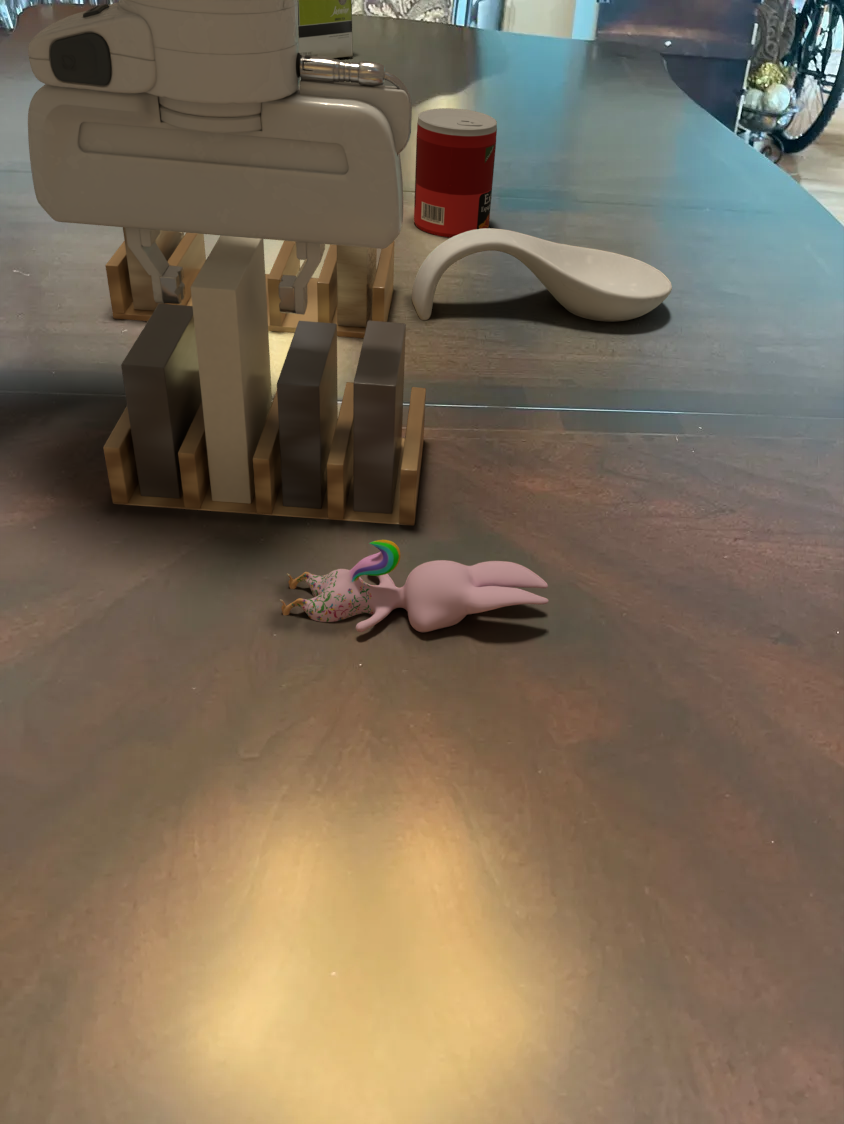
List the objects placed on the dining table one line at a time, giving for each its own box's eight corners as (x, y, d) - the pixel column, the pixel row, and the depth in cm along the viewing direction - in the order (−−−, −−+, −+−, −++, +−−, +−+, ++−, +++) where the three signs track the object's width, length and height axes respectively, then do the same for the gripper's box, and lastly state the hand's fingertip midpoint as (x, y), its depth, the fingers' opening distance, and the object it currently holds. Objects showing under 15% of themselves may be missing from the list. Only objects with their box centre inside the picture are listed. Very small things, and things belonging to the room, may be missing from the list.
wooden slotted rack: (114, 324, 88) (84, 131, 78) (147, 274, 96) (124, 95, 86) (383, 345, 89) (387, 157, 79) (393, 294, 97) (397, 119, 87)
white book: (211, 501, 67) (190, 286, 58) (238, 432, 74) (222, 230, 65) (251, 504, 67) (235, 290, 58) (273, 434, 74) (263, 233, 65)
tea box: (316, 45, 174) (314, -62, 164) (354, 58, 168) (354, -51, 159) (238, 52, 165) (231, -59, 156) (275, 67, 160) (270, -48, 151)
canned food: (494, 244, 109) (504, 130, 102) (417, 242, 108) (422, 127, 101) (482, 218, 115) (490, 109, 108) (409, 216, 114) (413, 106, 107)
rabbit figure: (284, 665, 59) (551, 651, 58) (261, 580, 55) (546, 564, 54) (301, 597, 64) (547, 584, 63) (281, 515, 60) (543, 499, 59)
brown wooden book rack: (114, 516, 67) (89, 370, 60) (157, 431, 75) (139, 295, 69) (413, 537, 67) (420, 395, 61) (422, 451, 76) (429, 318, 69)
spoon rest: (639, 285, 104) (652, 211, 99) (684, 336, 95) (701, 257, 90) (402, 290, 98) (405, 211, 93) (428, 345, 89) (432, 261, 85)
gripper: (416, 52, 57) (408, 298, 66) (36, 17, 56) (79, 271, 65) (409, 79, 52) (401, 341, 61) (-7, 42, 52) (46, 312, 60)
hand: (232, 305), depth 63 cm, fingers open, 6 cm apart
